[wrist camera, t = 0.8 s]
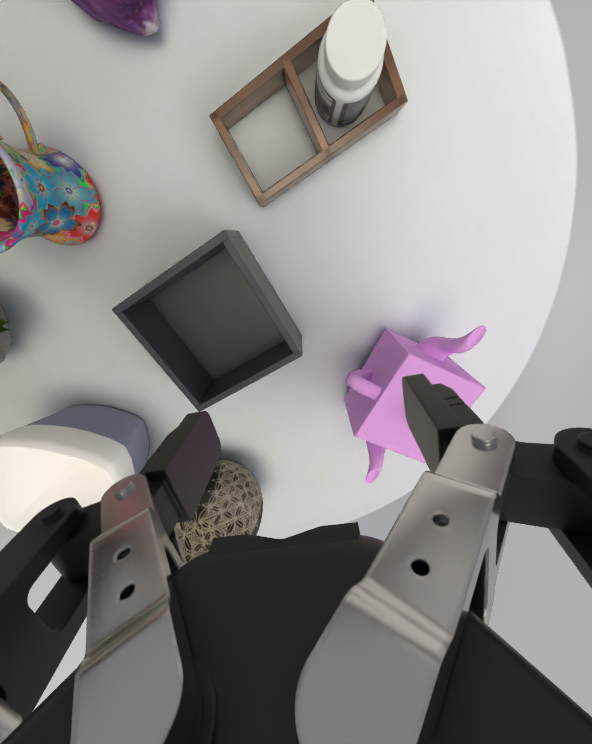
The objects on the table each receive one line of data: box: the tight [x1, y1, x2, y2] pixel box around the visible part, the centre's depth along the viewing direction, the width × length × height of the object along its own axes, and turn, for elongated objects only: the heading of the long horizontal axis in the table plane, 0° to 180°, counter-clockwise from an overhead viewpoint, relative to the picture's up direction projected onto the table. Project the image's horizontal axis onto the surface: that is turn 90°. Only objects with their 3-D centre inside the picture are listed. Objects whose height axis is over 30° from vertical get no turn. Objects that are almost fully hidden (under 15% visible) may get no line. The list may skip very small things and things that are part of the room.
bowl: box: [0, 405, 149, 532], centre depth 38 cm, size 15×15×11 cm
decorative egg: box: [174, 460, 263, 562], centre depth 39 cm, size 12×12×15 cm
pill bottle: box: [315, 0, 387, 127], centre depth 23 cm, size 5×5×8 cm
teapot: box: [344, 326, 486, 483], centre depth 33 cm, size 15×13×11 cm
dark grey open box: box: [112, 231, 302, 412], centre depth 32 cm, size 13×13×7 cm
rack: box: [210, 0, 408, 207], centre depth 26 cm, size 8×15×3 cm, turn 121°
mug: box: [0, 81, 100, 253], centre depth 25 cm, size 12×9×11 cm
